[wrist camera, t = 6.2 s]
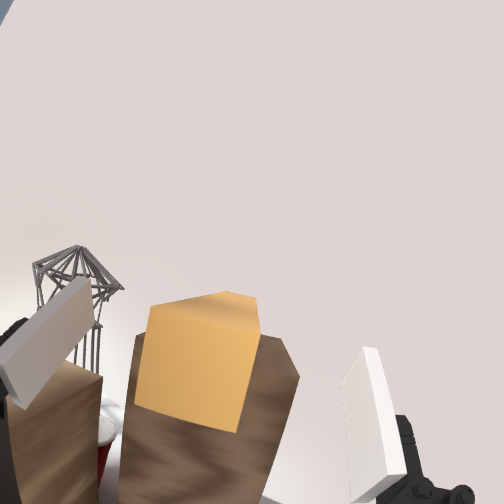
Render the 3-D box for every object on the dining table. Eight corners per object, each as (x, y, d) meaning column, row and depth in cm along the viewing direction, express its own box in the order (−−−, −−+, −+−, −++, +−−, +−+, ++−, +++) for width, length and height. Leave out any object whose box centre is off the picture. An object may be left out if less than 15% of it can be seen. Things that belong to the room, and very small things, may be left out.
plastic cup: (99, 460, 37) (102, 403, 38) (126, 501, 30) (131, 443, 31) (40, 460, 30) (36, 399, 31) (57, 506, 22) (50, 444, 23)
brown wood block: (119, 560, 17) (135, 335, 20) (153, 494, 33) (184, 315, 36) (221, 587, 17) (299, 376, 20) (230, 514, 33) (280, 338, 36)
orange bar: (235, 432, 10) (260, 334, 10) (134, 403, 10) (150, 305, 10) (248, 327, 40) (255, 298, 40) (219, 320, 40) (225, 291, 40)
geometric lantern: (36, 439, 34) (49, 237, 38) (21, 397, 45) (36, 234, 48) (111, 436, 46) (134, 258, 50) (84, 400, 56) (103, 251, 60)
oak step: (-39, 537, 6) (-101, 348, 8) (25, 488, 22) (14, 333, 24) (48, 602, 6) (-19, 442, 8) (99, 530, 21) (103, 376, 24)
